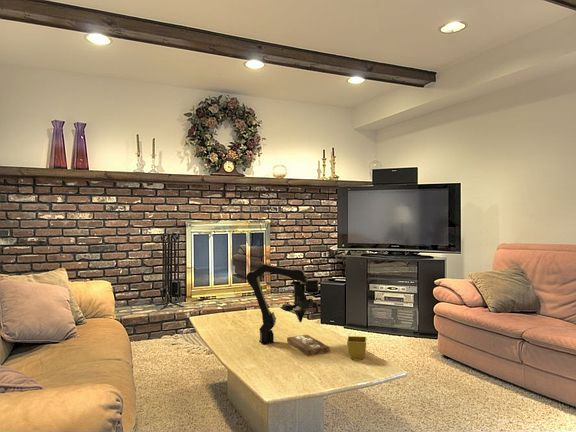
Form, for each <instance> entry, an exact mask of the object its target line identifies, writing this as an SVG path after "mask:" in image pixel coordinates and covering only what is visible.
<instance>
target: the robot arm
mask: <svg viewBox="0 0 576 432" xmlns="http://www.w3.org/2000/svg"><path fill="white" fill-rule="evenodd" d="M264 273H270V274H275V275H280V276H283V277H288V278H290V279H292V281H291V282H290V284H289V285H291V286H293V291H294V293H292V294H293V295H292V297H293V298H294V299H293V300H294V301H293V304H291V303H283V304H282V305H281V310H283V311H284V312H292V311H293V312H294V314H295V315H296V317H297V320H298V322H299V323H302V322H303V318H304V316H305V313H306V312H307V311H308V310H309V309H310V308H312V309H317V308H318V307H319V306H318V305H319V304H318V302H317V301H314V300H313V299H314V298H307V295H306V294H305V293H306V292H308V294H313V293H315V294H317V293H319V291H320V290H319V288H320V287H319V280H318V279H308V277H307V276H306V275H305V274H306V273H305V271H304V269H302V268H286V267H282V266H277V265H276V266H275V265H272V264H268V263H263V264H262V265H261V266H260V267H259V268H257V269H256V270H252V271H249V272H248V273H247V274H246V277H245V278H246V282H247V283H248V285H249V286H250V287H251V288H252V290H253V293H254V295H255V299H256V301H257V304H258V306H259V309H260V312H261V318H262V325H261V326H260V328H259V340H258V343H260V344H262V345H268V344H274V343H275V339H274V338H275V337H274V332H273V328H274V327H275V325H276V323H277V322H276V321H277V317H276V316H275V313H274V311H272V312H271V310H270V309H269V306H268V304H267V301H266V298H265V295H264V292H263V289H262V287H261V280H260V276H262V275H263V274H264Z"/></svg>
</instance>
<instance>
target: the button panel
mask: <svg viewBox="0 0 576 432" xmlns="http://www.w3.org/2000/svg"><path fill="white" fill-rule="evenodd" d="M297 336H298V335H296V336H295V335H294V336H288V337H287V338H286V342H287V343H288V344H289V345H291V346H292V347H294V348H296V349H297V351H300V352H302V354H304V355H306V356H309V357H310V356H313V355H319V354H320V355H321V354H326V353H330V346H328V345H326V344H325V343H323V342H321V341H320V340H318V339H316V338H314V337H312V336H311V335H308V334H303V335H300V336H303V337H305V338H311V339H312V340H313V343H308V344H304V343H303V342H302V339H299V340H298V339H296V338H295V337H297ZM314 344H317V345H319V346H320V347H319V348H311V347H310V345H314Z"/></svg>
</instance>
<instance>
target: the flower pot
mask: <svg viewBox="0 0 576 432" xmlns="http://www.w3.org/2000/svg"><path fill="white" fill-rule="evenodd" d="M346 343H347V352H348V355H349V357H350V358H351V360H359V361H361V360H362V361H363V360H364V358H365V356H366V351H367V348H366V347H367V336H351V335H350V336H347V341H346Z"/></svg>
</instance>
